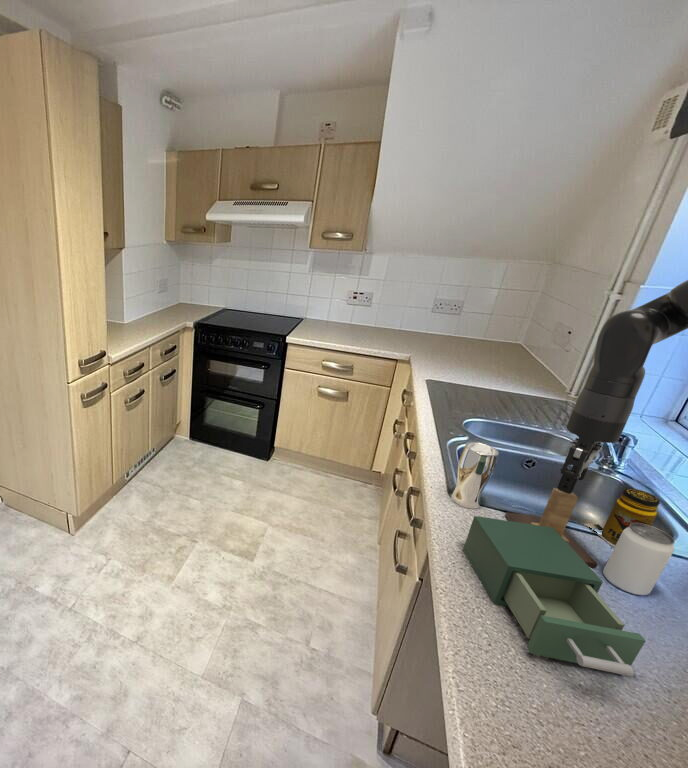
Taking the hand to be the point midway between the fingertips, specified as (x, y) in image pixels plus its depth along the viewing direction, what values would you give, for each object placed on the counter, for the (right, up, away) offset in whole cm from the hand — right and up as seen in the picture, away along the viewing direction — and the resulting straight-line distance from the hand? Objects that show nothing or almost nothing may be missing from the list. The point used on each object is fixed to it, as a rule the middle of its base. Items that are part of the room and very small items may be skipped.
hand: (570, 484), depth 85 cm
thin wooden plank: (0, -14, +5) cm, 15 cm away
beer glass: (-9, -9, +18) cm, 22 cm away
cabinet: (-16, -17, -6) cm, 24 cm away
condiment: (+17, -14, +7) cm, 23 cm away
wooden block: (0, -12, +5) cm, 13 cm away
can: (+5, -18, -5) cm, 19 cm away
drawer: (-19, -21, -18) cm, 33 cm away
